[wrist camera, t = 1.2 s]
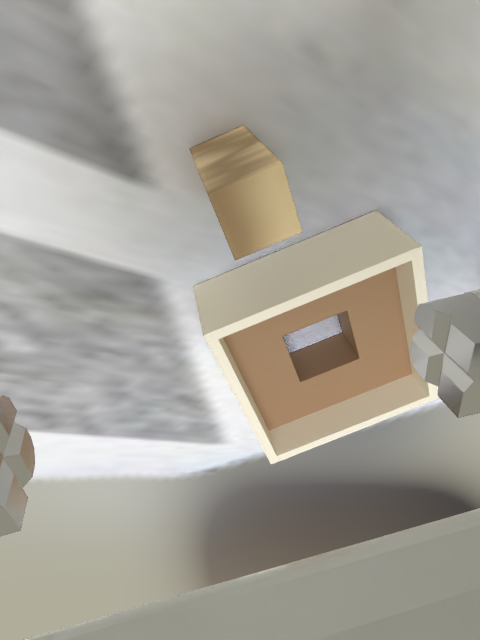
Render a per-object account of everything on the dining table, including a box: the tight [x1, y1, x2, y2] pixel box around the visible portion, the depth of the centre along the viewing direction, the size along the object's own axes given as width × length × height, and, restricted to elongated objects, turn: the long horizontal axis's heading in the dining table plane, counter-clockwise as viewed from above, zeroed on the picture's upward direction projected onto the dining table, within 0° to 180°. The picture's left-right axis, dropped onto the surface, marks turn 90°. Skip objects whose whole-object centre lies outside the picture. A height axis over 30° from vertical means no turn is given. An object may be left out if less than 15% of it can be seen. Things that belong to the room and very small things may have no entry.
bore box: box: [193, 210, 439, 464], centre depth 37 cm, size 16×16×7 cm
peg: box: [189, 125, 302, 260], centre depth 27 cm, size 4×4×10 cm
